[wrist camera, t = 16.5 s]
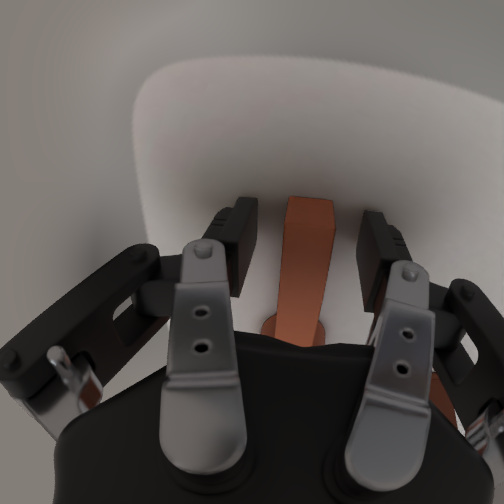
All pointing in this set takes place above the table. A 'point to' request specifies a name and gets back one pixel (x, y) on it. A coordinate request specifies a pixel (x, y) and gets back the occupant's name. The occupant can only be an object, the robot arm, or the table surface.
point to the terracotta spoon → (303, 272)
